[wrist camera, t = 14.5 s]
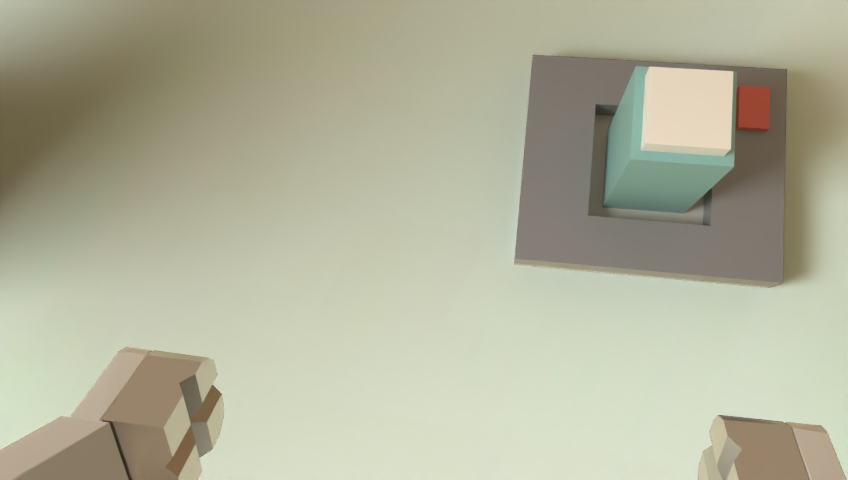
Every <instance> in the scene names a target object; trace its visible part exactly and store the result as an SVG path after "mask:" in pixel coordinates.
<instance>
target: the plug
mask: <svg viewBox="0 0 848 480" xmlns="http://www.w3.org/2000/svg"><path fill="white" fill-rule="evenodd" d="M736 90H737V72H733V71H719V70H701V69H684V68H667V67H642V66H635V69H634V71H633V73H632V76H631V78H630V80H629V83H628V85H627V88H626V90H625V92H624V95H623V97H622V99H621V102H620V104H619V106H618V109H617V111H616V113H615V116H614V118H613V120H612V123H611V125H610V127H609V130H608V132H607V145H606V160H605V176H604V191H603V206H602V207H607V208H620V209H632V210H645V211H657V212H669V213H682V214H684V213H685V212H686V211H687V210H688V209H689V208H690V207H691V206H693V205H694V204H695V203H696V202H697V201H698V200H699V199H700V198H701V197H702V196H703V195H704V194H705V193H707V192H708V191H709V190H710V189H711V188H712V187H713V186H714V185H715V184H716V183H717V182H718V181H719V180H721V179H722V178H723V177H724V176H725V175H726V174H727V173H728V172H729V171H730V170H731V169H732V168H733V167H734V153H735V122H736Z"/></svg>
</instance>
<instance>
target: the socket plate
mask: <svg viewBox="0 0 848 480" xmlns="http://www.w3.org/2000/svg"><path fill="white" fill-rule="evenodd" d="M635 66H642V67H667V68H684V69H701V70H719V71H733V72H737V90H736V122H735V153H734V167H733V168H732V169H731V170H730V171H729V172H728V173H727V174H726V175H725V176H724V177H723V178H722V179H721V180H719V181H718V182H717V183H716V184H715V185H714V186H713V187H712V188H711V189H710V190H709V191H708V192H707V193H705V194H704V195H703V196H702V197H701V198H700V199H699V200H698V201H697V202H696V203H695V204H694V205H693V206H691V207H690V208H689V209H688V210H687V211H686V212H685V213H684V214H682V213H669V212H657V211H645V210H632V209H620V208H607V207H602V206H603V191H604V176H605V160H606V145H607V132H608V130H609V127H610V125H611V123H612V120H613V118H614V116H615V113H616V111H617V109H618V106H619V104H620V102H621V99H622V97H623V95H624V92H625V90H626V88H627V85H628V83H629V80H630V78H631V76H632V73H633V71H634V69H635ZM786 89H787V69H771V68H753V67H736V66H719V65H701V64H684V63H666V62H649V61H631V60H614V59H596V58H579V57H562V56H544V55H533V60H532V69H531V81H530V92H529V103H528V115H527V126H526V137H525V149H524V160H523V171H522V183H521V194H520V205H519V217H518V228H517V240H516V251H515V262H514V264H515V265H525V266H536V267H547V268H558V269H569V270H580V271H591V272H602V273H613V274H623V275H634V276H645V277H656V278H667V279H678V280H689V281H700V282H710V283H721V284H732V285H743V286H754V287H765V288H770V287H773V286H776V285H778V284H781V283H783V247H784V194H785V142H786Z"/></svg>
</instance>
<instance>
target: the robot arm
mask: <svg viewBox="0 0 848 480" xmlns="http://www.w3.org/2000/svg"><path fill="white" fill-rule="evenodd" d="M216 377H217V371H216V367H215V363H214V360H212V359H210V358H206V357H199V356H191V355H184V354H177V353H170V352H163V351H156V350H154V351H152V350H144V349H137V348H130V347H125V348H124V349H122V350H120V351H119V352H118V353H117V354H116V355H115V356H114V358H113V359H112V360H111V362H110V363H109V364H108V366H107V367H106V369H105V370H104V371H103V373H102V374H101V375H100V377H99V378H98V379H97V381H96V382H95V383H94V385H93V386H92V388H91V389H90V390H89V392H88V393H87V394H86V396H85V397H84V398H83V400H82V401H81V402H80V404H79V405H78V407H77V408H76V409H75V411H74V412H73V413H72V415H71V416H70V417H63V416H61V417H59V418H57V419H56V420H54V421H52V422H50V423H48V424H47V425H45V426H43V427H41V428H39V429H38V430H36V431H34V432H32V433H30V434H29V435H27V436H25V437H23V438H21V439H20V440H18V441H16V442H14V443H12V444H11V445H9V446H7V447H5V448H3V449H2V450H0V480H198V478H199V476H200V474H201V472H202V468H201V464H200V459H199V458H200V457H201V456H203V455H204V454H206V453H207V452H209V451H210V450H212V449H213V447H214V445H215V443H216V441H217V439H218V437H219V435H220V430H221V426H222V422H223V418H224V404H223V398H222V394H221V393H220V392H219V391H218V390H217V389H216V388H215V387H214V386H213V385H212V384H213V382H214V380H215V379H216ZM709 432H710V437H711V442H712V446H710V447H709V448H707V449H706V450H704V451H703V453H702V456H701V460H700V463H699V469H698V480H846V477H845V475H844V472H843V470H842V467H841V465H840V462H839V460H838V457H837V455H836V453H835V450H834V448H833V445H832V443H831V440H830V438H829V435H828V433H827V431H826V430H825V429H824V428H823V427H822V426H820V425H810V424H800V423H791V422H786V423H784V422H781V421H772V420H762V419H752V418H743V417H733V416H723V415H717V417H716V418H715V419H714V420H713V423H712V426H711V429H710V431H709Z"/></svg>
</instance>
